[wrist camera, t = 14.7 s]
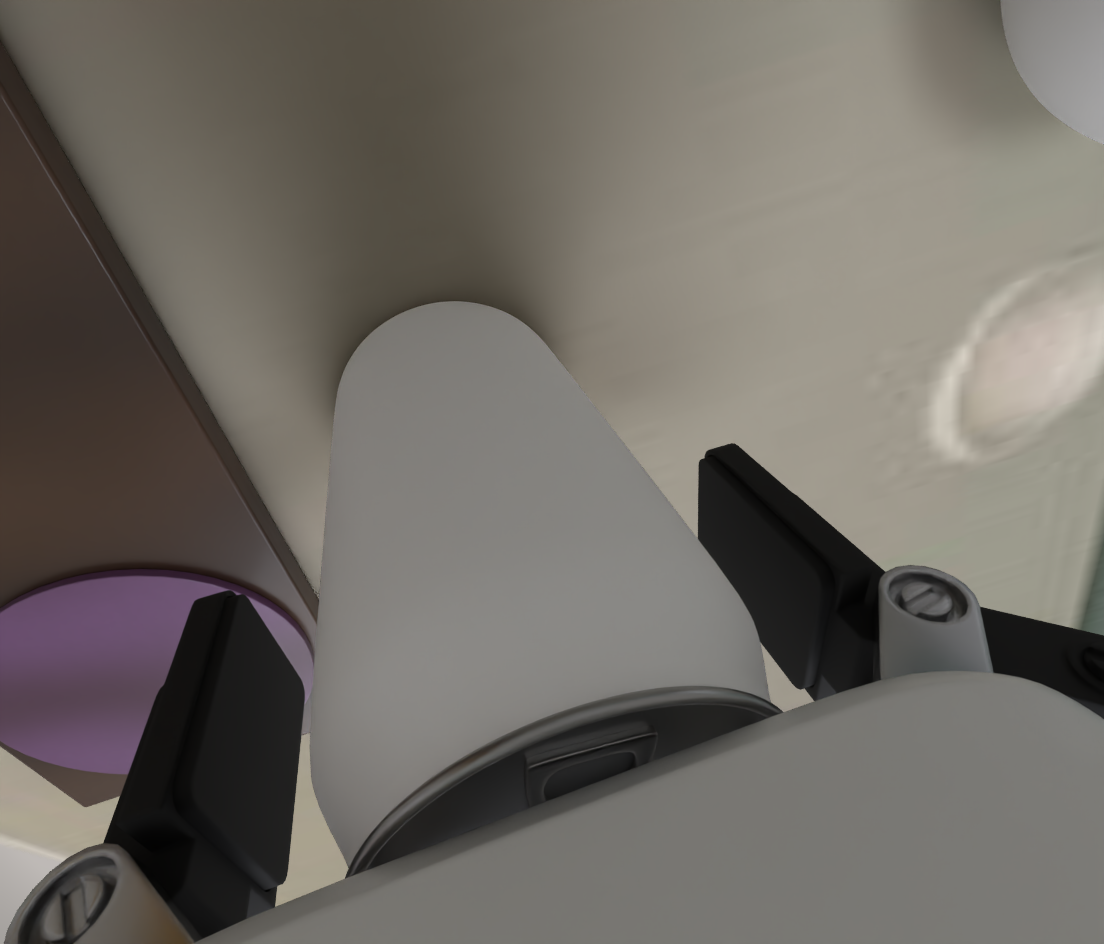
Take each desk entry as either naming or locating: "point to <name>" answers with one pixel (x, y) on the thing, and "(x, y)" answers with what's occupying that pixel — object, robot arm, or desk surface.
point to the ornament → (1061, 57)
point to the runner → (105, 485)
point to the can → (500, 594)
